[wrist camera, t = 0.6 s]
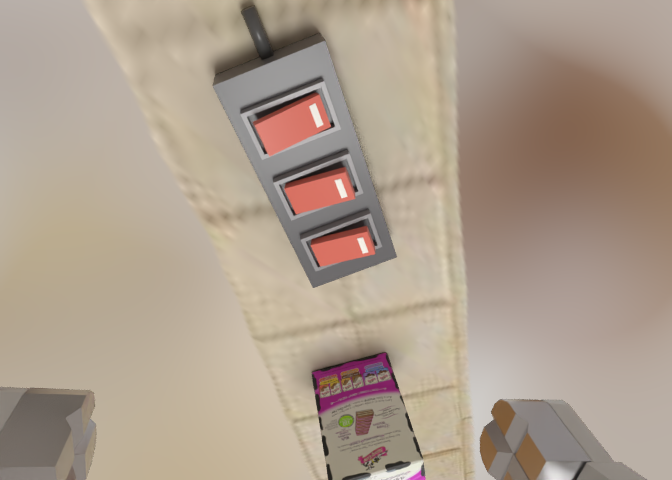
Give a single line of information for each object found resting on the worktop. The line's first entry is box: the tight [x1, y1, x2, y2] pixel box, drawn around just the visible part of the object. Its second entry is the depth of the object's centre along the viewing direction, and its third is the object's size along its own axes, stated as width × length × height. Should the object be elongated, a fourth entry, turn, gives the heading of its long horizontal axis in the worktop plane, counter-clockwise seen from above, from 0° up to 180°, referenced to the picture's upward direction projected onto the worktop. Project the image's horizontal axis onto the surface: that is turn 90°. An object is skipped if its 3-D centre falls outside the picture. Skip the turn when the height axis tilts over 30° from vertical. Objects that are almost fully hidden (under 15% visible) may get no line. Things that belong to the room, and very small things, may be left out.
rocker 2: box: [284, 167, 355, 214], centre depth 44 cm, size 3×6×1 cm, turn 109°
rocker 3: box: [311, 226, 375, 267], centre depth 48 cm, size 3×6×1 cm, turn 109°
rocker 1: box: [253, 92, 331, 157], centre depth 40 cm, size 3×6×1 cm, turn 109°
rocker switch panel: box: [213, 6, 397, 288], centre depth 45 cm, size 28×10×4 cm, turn 19°
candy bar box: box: [312, 353, 426, 480], centre depth 60 cm, size 11×5×16 cm, turn 101°
